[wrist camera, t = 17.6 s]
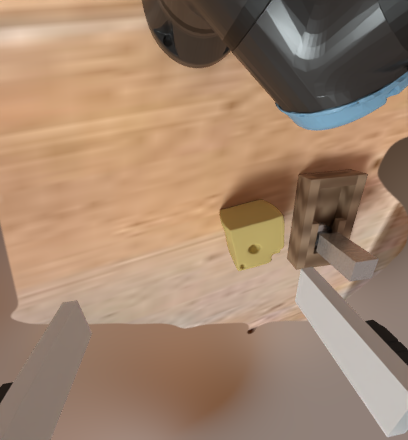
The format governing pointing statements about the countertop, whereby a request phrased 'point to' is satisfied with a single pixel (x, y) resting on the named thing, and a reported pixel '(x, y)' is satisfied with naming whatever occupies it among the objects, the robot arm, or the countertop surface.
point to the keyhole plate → (323, 212)
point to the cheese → (253, 233)
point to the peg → (344, 254)
